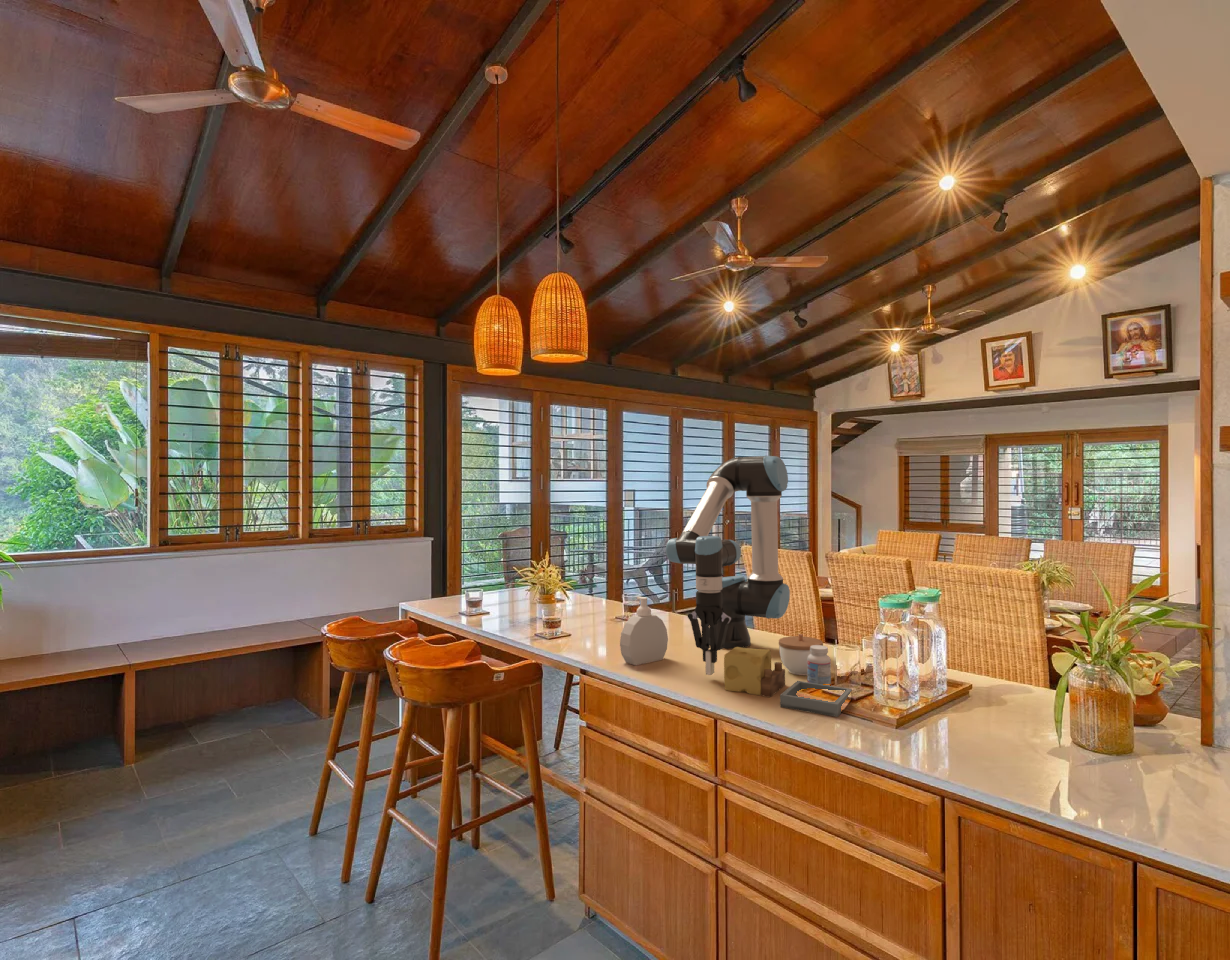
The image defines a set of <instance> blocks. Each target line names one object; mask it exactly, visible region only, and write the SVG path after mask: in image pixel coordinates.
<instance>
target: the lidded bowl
mask: <svg viewBox="0 0 1230 960" xmlns="http://www.w3.org/2000/svg"><path fill="white" fill-rule="evenodd" d="M812 645H822V646H824V642H823V641H822V640H821V639H819V638H815V637H810V636H804V635H803V634H801V633H798V636H797V635H796V636H795V635H791V636H784V637H781V638H779V640H778V646H779V647H778V648H779V657H780V660H781V663H782V666H784V668H786V669H787V670H788V672H789V674H792V675H797V676H808V674H807V658H808V656H809V655H810V654H811V652H810V646H812Z"/></svg>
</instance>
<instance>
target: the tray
mask: <svg viewBox="0 0 1230 960" xmlns="http://www.w3.org/2000/svg"><path fill="white" fill-rule="evenodd" d="M807 688H815V689H828V690H845V692H844V693H843V694H842V695H841V696H840V697H839V698H838V699H837V700H836V701H835V702H828V701H822V700H816V699H810V698H804V697H798V696H797V695H796V693H797V691H799V690H801V689H807ZM851 691H852V692H853V689H852V688H850V687H849V688H848V687H842V686H835V685H831V686H830V685H823V684H817V683H810V682H808V681H801V680H796V681H795V682H794V683H793V684H792V685H791V686H789V687H788V688H786V689H785V691H783V692H782V693H780V695H779V696H780V697H779V699H780V701H779V704H780V708H784V709H789V710H796V711H800V712H807V713H812V714H818V715H824V716H829V717H836V718H838V717H839V716H840V715H841V714H842V713H841V706H842V704H843V703H844V702H845V700H846V699H847V697H848V695H849V694H850V692H851Z"/></svg>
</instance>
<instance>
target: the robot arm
mask: <svg viewBox="0 0 1230 960" xmlns="http://www.w3.org/2000/svg"><path fill="white" fill-rule="evenodd" d="M788 484H789V475H788V470H787V467H786V464H785V463H784V461H783V459H782V458H781V457H779V456H778V455H777V456H776V455H773V456H772V455H760V456H758V455H757V456H755V455H754V456H736V457H732V458H730V459H728V460H726V461H725V462H723V463H721V465H719V466H718V467H717V468H716V469H715V470H714V471H713V472H712V473H711V475H710V476H709V478H708V480H707V481H706V490H705V491H704V492H703V495H702V497H701V498H700V500H699V502H698V504H697V506H696V508H695V509H694V511H693V513H692V514H691V517H690V518H689V520H688V521H687V524H686V525H685V527H684V529H683V530H682V532H681V534H680V535H679V537H678V538H677V537H675V538H670V539H669V540H668V541H667V543H666V544H665V545H666V546H665V556H666V557H667V558H666V559H667V560H668V561H669V562H672V563H677V564H680V565H681V564H682V565H683V564H687V565H689V564H690V565H695V589H696V590H697V591H696V592H695V608H694V611H692V612H690V613H688V614H687V618H688V620H689V621H690V625H691V629H692V632H693V633H692V634H693V638H694V642H695V647H696V648H698V649H700V650H701V651H702V661H703V662H704V663H705V675H708V676H711V675H713V674H714V673H715V664H716V663H717V662H718V651H721V650H722V649H728V650H729V649H731V650H732V649H733V648H735V647H741V648H748V647H750V646H751V636H750V633H749V630H748V627H747V623H746V616H747V617H755V618H756V617H757V618H764V619H775V620H776V619H777V620H778V619H781V618H782V617H784V615H785V614H786V612H787V611H788V606H789V604H790V597H791V592H790V591H791V590H790V586H789V585H788V584H787V583H785V582H784V577H783V576H782V575H781V574H780V573H779V542H778V541H779V539H778V537H779V536H778V535H779V534H778V533H779V532H778V531H779V530H778V525H779V524H778V501H779V500H780V498H782V496H783V495H782V493H783V492H784V491H786V490H787V488H788ZM740 491H741V492H745V494H746V495H745V496H746V498H747V499H748V500H749V501H750V508H751V509H750V513H751V514H750V516H751V517H750V518H751V520H750V521H751V527H750V528H751V570H752V571H751V573H750V574H749V575H748V576H747V580H746V578H745V576H743V575H733V576H724V577H723V567H727V566H732V565H733V564H736V563H737V562H738V561H739V560H740V559H741V554H742V551H741V547H740V545H739V544H738V542H736V541H735V540H732V539H722V538H721V537H720V536H718V535H709V534H710V532H711V530H712V528H713V526H714V525H715V523H716V521H717V519H718V517H719V515H720V513H721V511H722V509H723V507H724V506H725V504H726V502H727V500H728V499H730V498H732V496H733V495H734V493H735V492H740ZM698 618H699V619H698ZM699 620H700V623H699ZM700 627H701V628H700Z"/></svg>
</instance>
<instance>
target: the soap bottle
mask: <svg viewBox="0 0 1230 960" xmlns="http://www.w3.org/2000/svg"><path fill="white" fill-rule="evenodd" d="M637 600H639V601H640V606H638V608H637V609H636V614H635V615H634V614H633V615H631V616H630V617H629V618H628V619H627V620H626V622H625V623H624V625H623V628H622V629H621V633H620V640H619V647H620V654H621V656H622V659H623V660H624V662H625V663H627V664H629V665H633V666H639V665H644V664H648V663H653V662H658V661H662V660H663V659H664V657H665V654H666V652H667V650H668V642H669V636H668V629H667V627H666V625H665V623H664V621H663V619H662V618H660V617H659V616H658V615H656V614H652V609H651V607H649V606H648V597H645V596H637Z"/></svg>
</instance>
